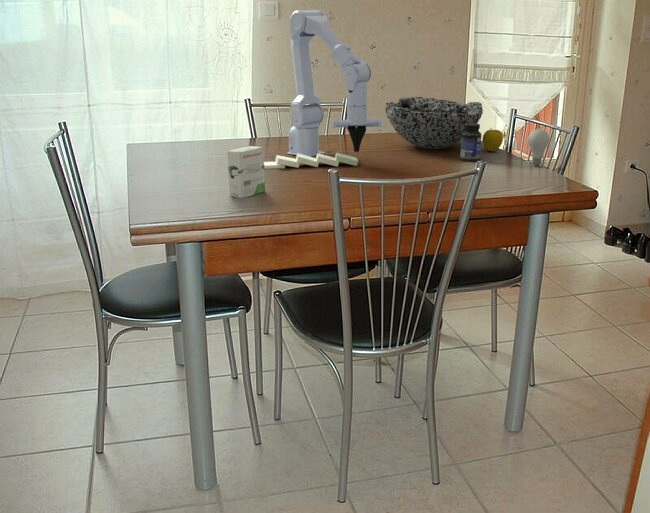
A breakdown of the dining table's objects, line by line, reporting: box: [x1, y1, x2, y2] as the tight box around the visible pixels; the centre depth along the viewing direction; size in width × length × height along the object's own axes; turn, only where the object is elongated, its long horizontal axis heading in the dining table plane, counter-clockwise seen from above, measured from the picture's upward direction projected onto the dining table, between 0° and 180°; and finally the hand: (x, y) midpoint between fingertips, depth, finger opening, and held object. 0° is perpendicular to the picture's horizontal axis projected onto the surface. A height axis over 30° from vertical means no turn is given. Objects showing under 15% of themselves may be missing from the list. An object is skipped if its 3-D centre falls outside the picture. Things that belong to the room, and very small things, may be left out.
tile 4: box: [315, 153, 340, 167], centre depth 218 cm, size 2×5×6 cm
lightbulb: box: [527, 128, 551, 167], centre depth 213 cm, size 6×6×11 cm
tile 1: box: [264, 161, 286, 170], centre depth 217 cm, size 2×5×6 cm
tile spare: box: [334, 152, 359, 167], centre depth 218 cm, size 2×5×6 cm
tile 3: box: [295, 153, 320, 168], centre depth 217 cm, size 2×5×6 cm
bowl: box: [385, 96, 484, 150], centre depth 241 cm, size 31×31×15 cm
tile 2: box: [275, 154, 300, 169], centre depth 216 cm, size 2×5×6 cm
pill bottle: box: [459, 123, 482, 163], centre depth 223 cm, size 6×6×11 cm
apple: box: [481, 127, 504, 152], centre depth 235 cm, size 6×6×8 cm
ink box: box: [227, 145, 266, 199], centre depth 184 cm, size 9×5×12 cm, turn 140°
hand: (356, 151), depth 218 cm, fingers closed
